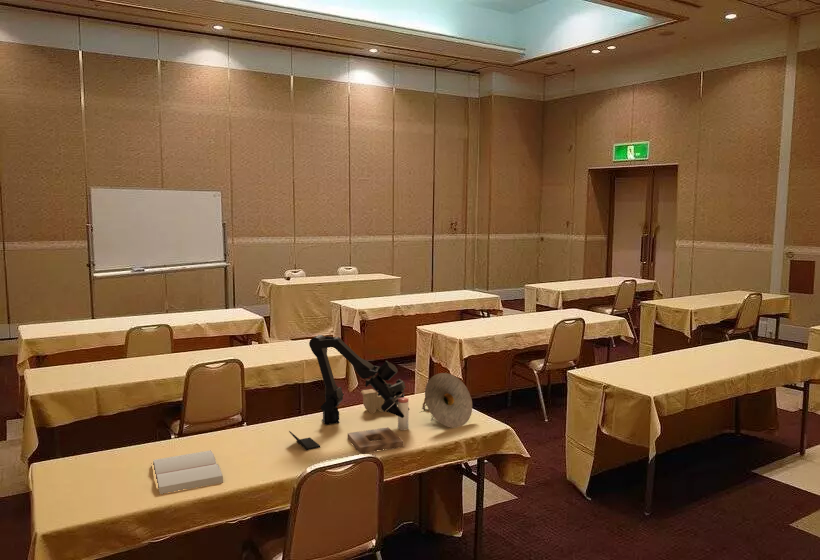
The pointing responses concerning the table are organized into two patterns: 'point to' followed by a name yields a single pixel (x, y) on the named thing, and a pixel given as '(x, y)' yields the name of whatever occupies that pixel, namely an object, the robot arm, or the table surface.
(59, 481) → the table surface
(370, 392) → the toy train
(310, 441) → the black spatula
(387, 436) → the jig plate
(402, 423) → the post
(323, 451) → the table surface
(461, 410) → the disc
